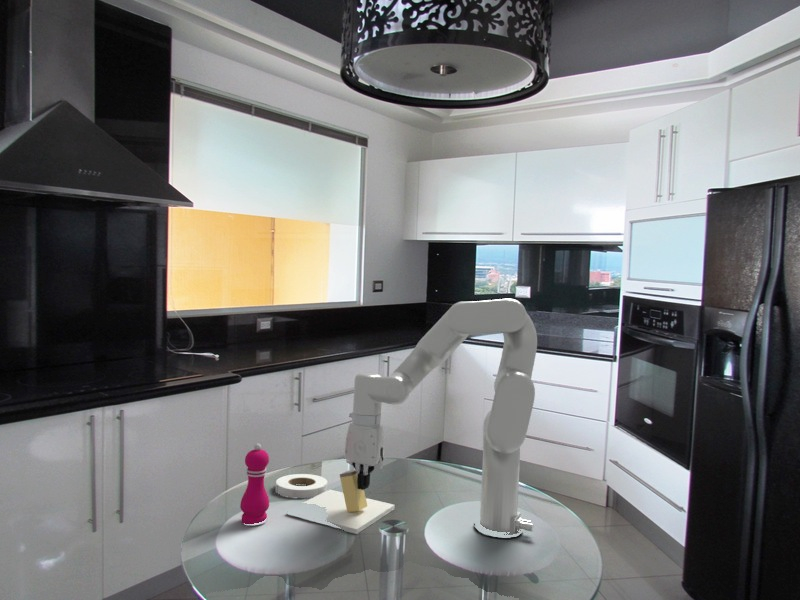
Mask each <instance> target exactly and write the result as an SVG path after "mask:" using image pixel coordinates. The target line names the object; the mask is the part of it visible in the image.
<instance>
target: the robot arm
mask: <svg viewBox="0 0 800 600" xmlns="http://www.w3.org/2000/svg"><path fill="white" fill-rule="evenodd" d="M497 334H500V335H501V334H502V335H503V347H502V352H501V357H500V362H499V367H498V370H497V374H496V375H495V380H494V383H493V388H494V396H493V401H492V405H491V409H490V410H489V411H488V413H487V414H486V415H485V417H484V420H483V425H482V426H483V427H482V428H483V429H482V430H483V432H482V433H483V434H482V437H483V438H482V469H481V486H480V487H481V489H480V490H481V491H480V510H479V512H480V513H479V514H480V515H479V517H480V524H481V525H482V526H483V527H485V528H486V529H489V530H492V531H497V532H506V533H507V532H510V533H509V534H508V533H507V534H508V535H513V534H517V533H519V532H518V531H519V530H520V529H523V531H527V532H532V533H533V531H534V523H532V521H531V520H529V519H524V518H523V517H521V515H522V514H521V512H520V511H518V505H519V488H520V487H519V486H520V485H519V484H520V465H521V464H520V463H521V462H520V461H521V460H520V458H521V447H522V446H523V444H524V442H525V440H526V437H527V432H528V429H529V425H530V421H531V415H532V412H533V406H534V403H535V402H534V401H535V398H536V397H535V396H536V388H535V384H534V382H533V380H532V376H533V371H534V365H535V361H536V360H535V359H536V354H537V350H538V349H537V348H538V334H537V330H536V327H535V325H534V321H533V320H532V319H531V317H530V315H529V314H528V313H527V310H526V307H525V306H524V305H523V303H521V302H520V301H519V300H517V299H514V298H502V299H501V298H499V299H492V300H491V299H487V300H479V301H478V300H477V301H473V300H472V301H458V302H456V303H453V305H451V307H449V309H448V310H447V311H446V312H445V313H444V314H443V315H442V316H441V318H439V320H438V321H437V322H436V323H435V324H433V326H432V327H431V328H430V329H429V330H428V331H427V332H426V333H425V334H424V336H422V337H421V338H420V340H419V341H418V342H417V344H416V346H415V347H414V349H413V350H412V351H411V353H409V355H408V356H406V358H404V360H403V361H402V362H401V363H400V364H399V366H398V367H396V369H394V371H393V372H392V373H391V374H389V375H388V376H382V375H381V374H378V373H373V372H362V373H358V374H356V375H355V378H354V382H353V383H354V384H353V385H354V387H353V404H352V408H353V409H352V412H350V413H349V414H348V417H349V418H350V419H351V422H350V423H349V424H348V429H347V433H346V437H345V444H344V459H345V461H346V463H347V464H349V465H351V466H353V468H354V470H356V473H357V474H358V475H357V484H358V489H361V490H364V491H365V490H366V489H368V488H369V487H370V483H371V474H372V473H373V472H374V471H378V470H382V469H383V467H384V466H383V462H384V459H385V458H384V457H385V438H384V437H385V434H384V428H383V425H381V422H382V421H381V419H382V416H381V415H382V403H384V404H388V405H392V406H395V405H396V406H398V405H400V404H403V403H405V402H406V400H408V398H409V396H410V394H411V393H412V392H413V391H414V390H415V389H416V387H417V386H418V385H419V384H420V383H421V382H422V381H423V380H424V379H425V378H426V377H427V376H428V375H429V374H430V373H431V372H433V371H434V369H437V368H438V367H440V366H441V365H443V363H444V362H445V361H446V360H447V359H448V358H449V357H450V356H451V355H452V354H453V353H454V352H455V350H457V348H458V347H459V346H460V345H461V344H462V343H464V341H465V340H467V338H468V337H469V336H481V335H497ZM517 530H518V531H517ZM520 531H521V530H520ZM507 534H506V535H507ZM504 535H505V534H504Z"/></svg>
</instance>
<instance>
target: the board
mask: <svg viewBox="0 0 800 600" xmlns="http://www.w3.org/2000/svg"><path fill="white" fill-rule="evenodd" d="M366 501H367V507H365V508H363V509H362V510H360V511H354V512H347V508H346V503H345V499H344V494H343V491H338V490H333V489H327V491H326V492H324V493H321V494H319V495H317V496H315V497H313V498H308V499H307V500H305V501H303V502H302V503H307V504H316V505H318V506H320V507H326V508H325V509H327V510H326V512H327V513H328V514H327V515H328V517H326V518H327V519H326V520H327V522H330V523H332V524H334V525H336V526H338V527H340V528H341V529H343V530H344V531H343V530H342V531H343V532H347V533H351V534H355V535H358V534H359V533H361V532H362V531H364V530H365V529H367V528H368V527H370V526H371V525H374V523H376V522H377V521H379V520H380V519H382V518H384V517H385V516H387V515H388V514H389V513H391V512H392V511H394V510H395V504H393V503H388V502H385V501H380V500H376V499H372V498H368V497H366ZM326 520H325V521H326Z"/></svg>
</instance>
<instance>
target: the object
mask: <svg viewBox="0 0 800 600" xmlns="http://www.w3.org/2000/svg"><path fill="white" fill-rule="evenodd" d="M296 484H306V485H308V486H306V485H298V486H295V485H296ZM326 491H328V480H327V479H326V478H325V477H322V476H321V475H317V474H311V473H310V474H309V473H296V474H295V473H293V474H287V475H284V476H281V477H279V478H278V479H276V481H275V493H276V494H277V493H278V494H277V495H279V494H280V495H279V496H281V495H283V496H282V497H284V496H288V497H297V498H304V499H311V498H312V497H315V496H317V495H319V494H321V493H324V492H326ZM288 497H287V498H288ZM297 498H296V499H297Z"/></svg>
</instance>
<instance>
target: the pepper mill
mask: <svg viewBox="0 0 800 600" xmlns="http://www.w3.org/2000/svg"><path fill="white" fill-rule="evenodd" d="M253 448H254V449H251V450H250V451H248V452H247V454H246V456H245V458H244V464H245V466H246V467H247V468H246V473H245V474H246V476H247V486H246V488H245V492H244V493H243V495H242V496H241V500H240V507H239V508H240V510H241V511H242V514H241V520H240V521H241V524H242V523H245V524H254V523H259V522H262V521H264V520H265V519H266V518H267V517H268V513H267V510H269V507H270V499H269V494H268V492H267V490H266V488H265V487H266V486H265V476H266V475H267V466H268V464H269V463H270V456H269V454H268V451H266V450H264V449H262V445H261V444H260V443H256V444H254V446H253ZM267 519H268V518H267Z"/></svg>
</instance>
